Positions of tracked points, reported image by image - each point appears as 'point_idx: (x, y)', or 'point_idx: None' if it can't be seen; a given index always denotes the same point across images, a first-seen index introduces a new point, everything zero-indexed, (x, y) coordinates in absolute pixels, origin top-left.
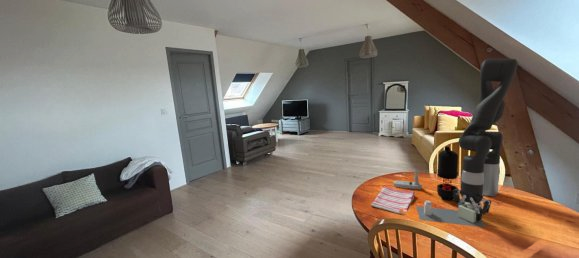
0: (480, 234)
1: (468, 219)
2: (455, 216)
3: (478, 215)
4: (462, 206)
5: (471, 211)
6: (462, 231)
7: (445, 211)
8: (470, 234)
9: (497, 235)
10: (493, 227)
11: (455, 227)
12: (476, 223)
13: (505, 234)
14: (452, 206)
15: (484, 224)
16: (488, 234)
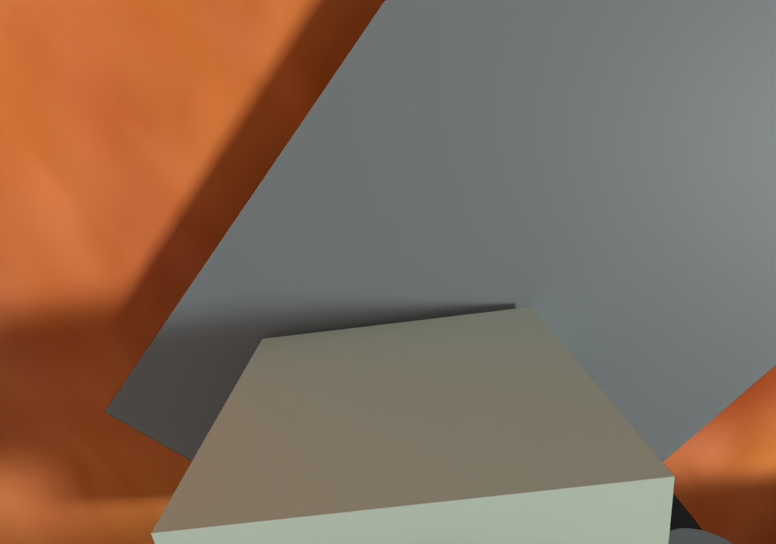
0: (82, 224)
1: (338, 344)
2: (555, 272)
3: None
4: (571, 542)
5: (227, 515)
6: (226, 26)
7: (767, 264)
8: (115, 73)
9: (17, 402)
10: None
11: None
12: None
13: (21, 496)
14: (771, 522)
15: (184, 455)
16: (59, 324)
